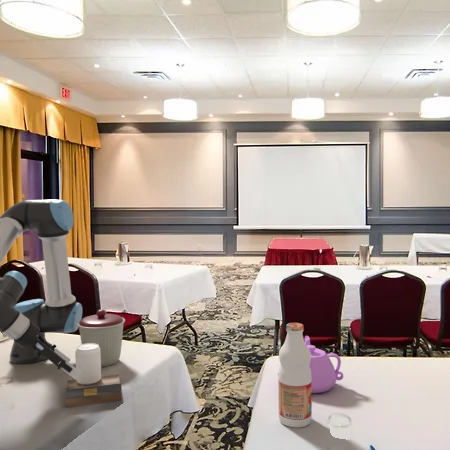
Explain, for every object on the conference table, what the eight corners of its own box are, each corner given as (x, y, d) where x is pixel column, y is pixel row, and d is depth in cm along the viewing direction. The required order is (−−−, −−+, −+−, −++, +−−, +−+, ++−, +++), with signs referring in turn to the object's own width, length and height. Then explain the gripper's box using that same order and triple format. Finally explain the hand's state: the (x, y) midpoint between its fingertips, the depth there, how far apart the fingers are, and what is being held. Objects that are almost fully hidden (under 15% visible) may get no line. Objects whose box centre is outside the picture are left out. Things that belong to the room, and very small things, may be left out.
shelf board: (67, 387, 160) (67, 371, 160) (118, 381, 165) (118, 365, 165) (65, 407, 145) (64, 390, 144) (121, 400, 149) (121, 383, 149)
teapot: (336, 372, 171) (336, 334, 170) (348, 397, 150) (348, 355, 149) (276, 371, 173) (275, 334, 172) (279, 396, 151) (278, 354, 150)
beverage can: (94, 386, 154) (93, 350, 153) (71, 385, 156) (70, 349, 155) (105, 377, 162) (104, 343, 161) (83, 375, 164) (82, 342, 163)
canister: (88, 354, 193) (87, 304, 192) (131, 355, 192) (130, 304, 191) (70, 370, 176) (68, 315, 174) (117, 371, 174) (116, 315, 173)
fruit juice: (272, 416, 137) (272, 322, 136) (300, 410, 141) (300, 319, 139) (288, 431, 129) (288, 331, 127) (318, 424, 132) (318, 327, 130)
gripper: (7, 330, 153) (56, 366, 162) (18, 351, 132) (74, 392, 140) (24, 312, 155) (71, 349, 164) (38, 330, 134) (91, 371, 143)
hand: (72, 369), depth 152 cm, fingers open, 13 cm apart
